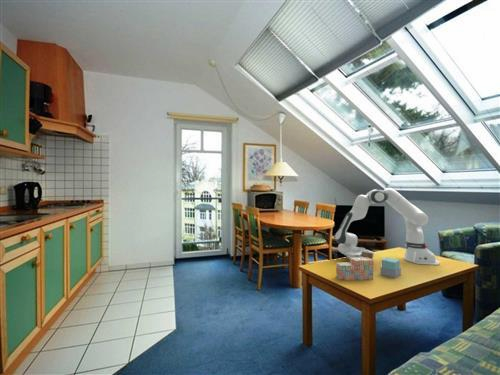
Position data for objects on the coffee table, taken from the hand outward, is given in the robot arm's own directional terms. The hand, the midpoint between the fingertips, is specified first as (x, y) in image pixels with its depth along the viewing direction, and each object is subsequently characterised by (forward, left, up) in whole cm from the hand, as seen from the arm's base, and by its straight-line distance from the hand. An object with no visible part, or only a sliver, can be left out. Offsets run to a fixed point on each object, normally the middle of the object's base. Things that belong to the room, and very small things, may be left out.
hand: (368, 257), depth 180 cm
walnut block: (+1, -1, -6) cm, 6 cm away
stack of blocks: (+8, +27, -7) cm, 29 cm away
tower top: (-13, +11, -1) cm, 17 cm away
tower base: (-13, +11, -6) cm, 19 cm away
